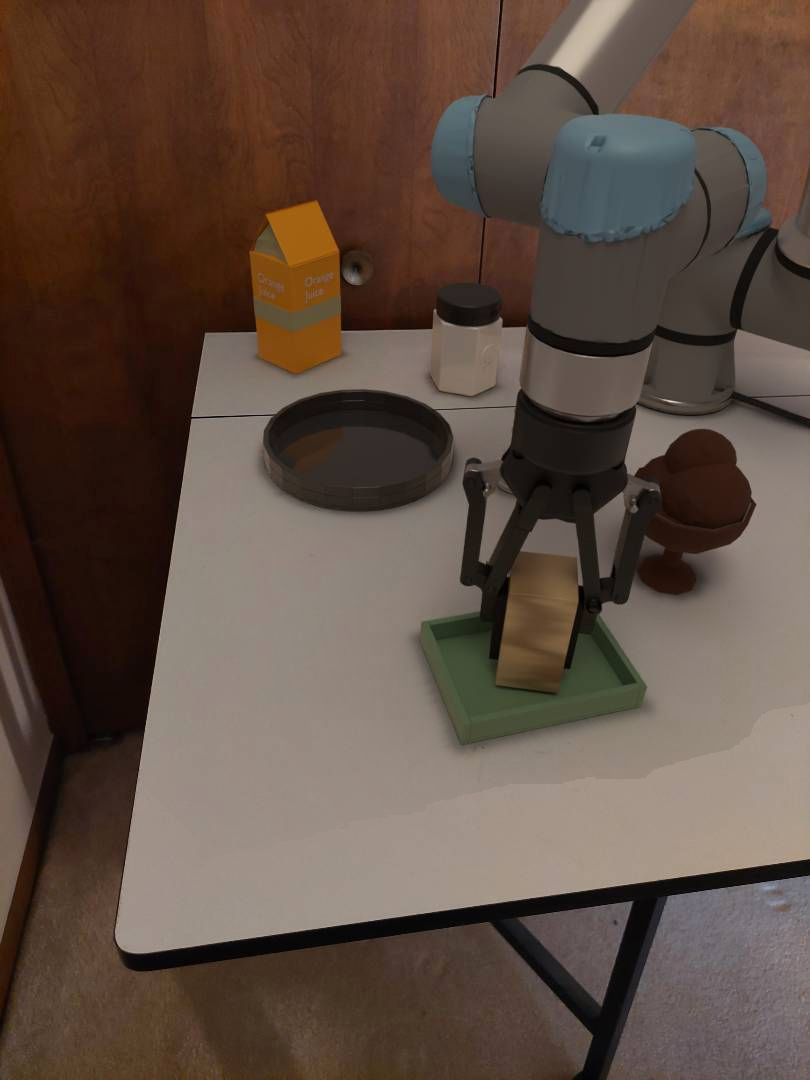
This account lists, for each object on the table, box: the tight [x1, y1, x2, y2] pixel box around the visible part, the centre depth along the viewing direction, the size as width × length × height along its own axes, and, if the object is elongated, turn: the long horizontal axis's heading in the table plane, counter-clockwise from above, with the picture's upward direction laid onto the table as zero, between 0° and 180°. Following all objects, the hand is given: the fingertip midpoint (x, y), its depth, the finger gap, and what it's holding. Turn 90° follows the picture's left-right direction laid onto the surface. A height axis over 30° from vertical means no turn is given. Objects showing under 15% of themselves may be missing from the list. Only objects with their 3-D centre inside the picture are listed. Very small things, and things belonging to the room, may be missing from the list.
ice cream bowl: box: [633, 428, 758, 596], centre depth 72 cm, size 11×11×15 cm
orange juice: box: [249, 199, 342, 375], centre depth 105 cm, size 8×9×20 cm
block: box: [495, 550, 579, 693], centre depth 63 cm, size 5×5×10 cm
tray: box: [419, 611, 648, 746], centre depth 66 cm, size 15×11×2 cm
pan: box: [262, 388, 455, 512], centre depth 91 cm, size 21×21×3 cm
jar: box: [429, 282, 504, 397], centre depth 103 cm, size 9×8×12 cm
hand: (529, 651), depth 65 cm, fingers closed on block, 5 cm apart
